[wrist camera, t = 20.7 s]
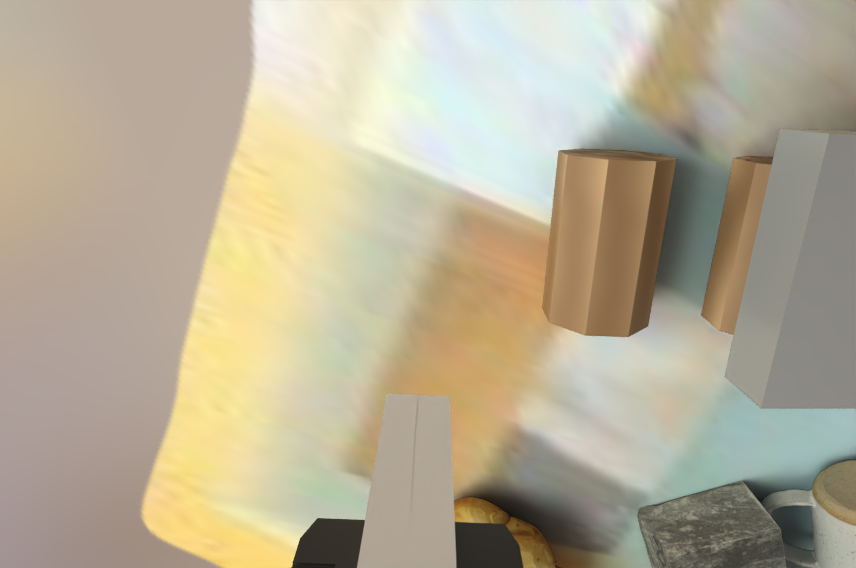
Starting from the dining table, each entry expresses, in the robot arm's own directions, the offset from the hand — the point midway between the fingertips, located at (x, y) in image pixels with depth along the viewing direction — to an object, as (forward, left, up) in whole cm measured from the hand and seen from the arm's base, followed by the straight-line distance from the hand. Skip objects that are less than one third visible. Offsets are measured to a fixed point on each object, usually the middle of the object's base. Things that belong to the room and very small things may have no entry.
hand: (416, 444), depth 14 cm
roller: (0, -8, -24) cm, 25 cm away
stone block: (-27, -23, -25) cm, 43 cm away
